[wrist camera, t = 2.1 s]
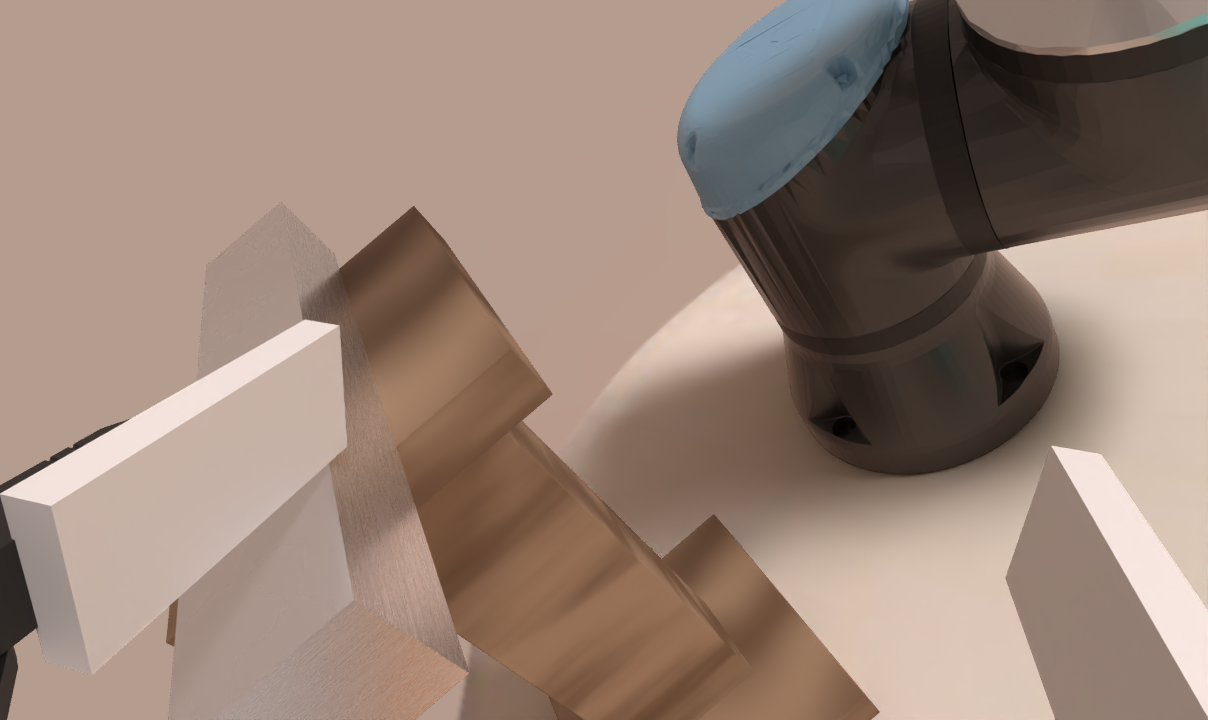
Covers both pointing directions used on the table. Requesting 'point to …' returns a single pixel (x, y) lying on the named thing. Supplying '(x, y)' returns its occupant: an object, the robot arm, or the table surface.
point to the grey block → (313, 534)
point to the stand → (562, 528)
